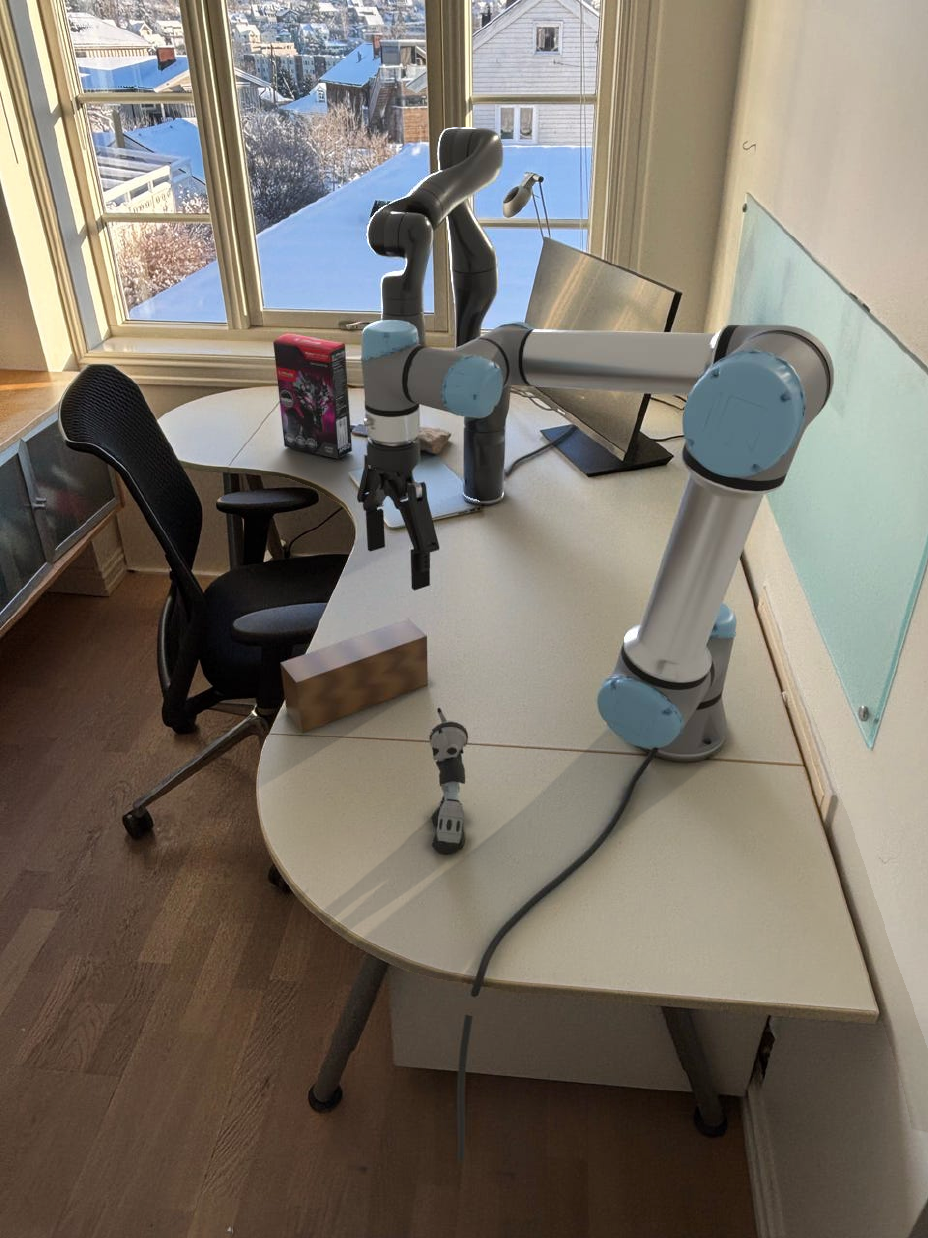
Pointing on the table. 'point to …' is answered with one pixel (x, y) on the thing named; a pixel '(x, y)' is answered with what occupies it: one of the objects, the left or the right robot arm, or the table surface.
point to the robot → (449, 784)
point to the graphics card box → (313, 395)
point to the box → (354, 674)
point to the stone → (432, 439)
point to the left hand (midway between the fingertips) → (406, 426)
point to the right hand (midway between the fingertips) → (397, 567)
